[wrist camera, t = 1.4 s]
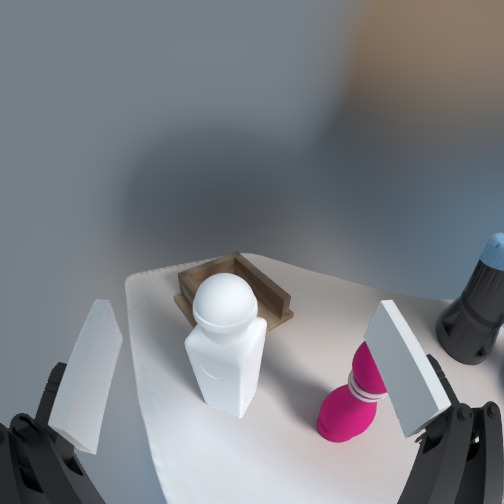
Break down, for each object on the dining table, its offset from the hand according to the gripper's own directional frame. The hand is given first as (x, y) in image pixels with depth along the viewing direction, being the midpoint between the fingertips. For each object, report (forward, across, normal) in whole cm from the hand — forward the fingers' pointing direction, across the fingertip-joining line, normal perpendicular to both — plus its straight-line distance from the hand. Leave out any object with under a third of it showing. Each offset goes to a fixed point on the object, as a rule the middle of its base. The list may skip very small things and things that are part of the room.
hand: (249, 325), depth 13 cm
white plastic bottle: (+10, 0, -27) cm, 29 cm away
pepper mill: (+4, +14, -26) cm, 30 cm away
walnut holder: (+28, +1, -26) cm, 39 cm away
